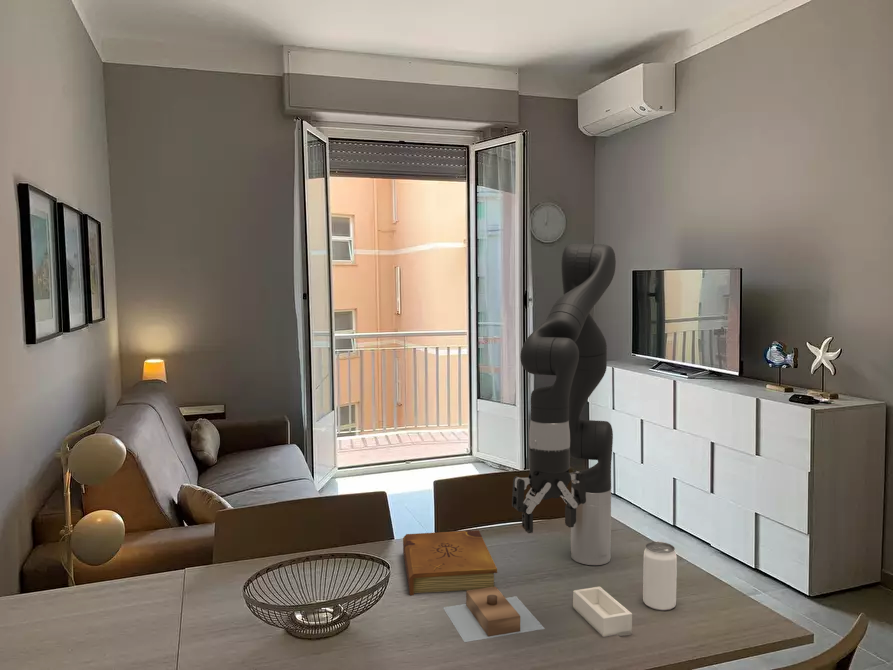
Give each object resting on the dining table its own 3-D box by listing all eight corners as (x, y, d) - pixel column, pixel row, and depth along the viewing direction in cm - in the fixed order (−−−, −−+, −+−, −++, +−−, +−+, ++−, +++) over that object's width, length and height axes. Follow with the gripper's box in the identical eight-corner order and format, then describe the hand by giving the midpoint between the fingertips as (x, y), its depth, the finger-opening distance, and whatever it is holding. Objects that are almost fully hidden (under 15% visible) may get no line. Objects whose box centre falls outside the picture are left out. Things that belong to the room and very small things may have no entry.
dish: (573, 609, 137) (573, 590, 136) (599, 605, 138) (599, 586, 138) (603, 639, 125) (603, 618, 125) (631, 634, 127) (632, 613, 127)
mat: (442, 609, 137) (442, 607, 137) (516, 598, 142) (516, 596, 142) (464, 644, 124) (464, 642, 124) (544, 631, 128) (544, 628, 128)
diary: (403, 557, 165) (402, 534, 165) (478, 553, 168) (478, 530, 167) (409, 599, 143) (409, 573, 142) (497, 594, 145) (497, 567, 145)
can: (677, 612, 135) (679, 554, 134) (644, 609, 136) (645, 551, 136) (673, 597, 142) (674, 541, 141) (641, 595, 143) (642, 539, 142)
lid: (466, 605, 138) (466, 585, 138) (495, 600, 140) (495, 580, 140) (488, 636, 126) (488, 614, 125) (520, 631, 127) (520, 609, 127)
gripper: (573, 437, 132) (572, 518, 133) (506, 442, 128) (506, 527, 129) (593, 445, 125) (592, 531, 126) (523, 451, 121) (523, 540, 122)
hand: (549, 529), depth 127 cm, fingers open, 8 cm apart
